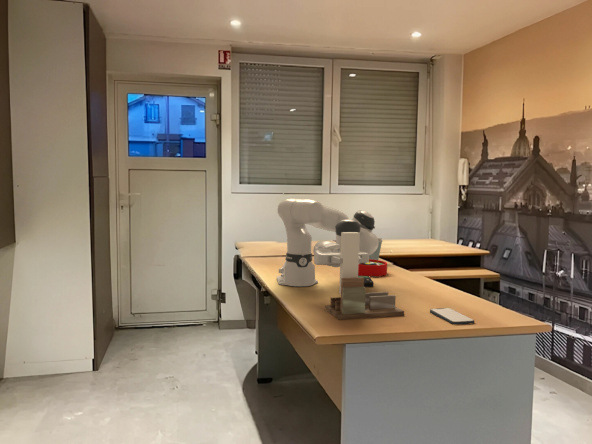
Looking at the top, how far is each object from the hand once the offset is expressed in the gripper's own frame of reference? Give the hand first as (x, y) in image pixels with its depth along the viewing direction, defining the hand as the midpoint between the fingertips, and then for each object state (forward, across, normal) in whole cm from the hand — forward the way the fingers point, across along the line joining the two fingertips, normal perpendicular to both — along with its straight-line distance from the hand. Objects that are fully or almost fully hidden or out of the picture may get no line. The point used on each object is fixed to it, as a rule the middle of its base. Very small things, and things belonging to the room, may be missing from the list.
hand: (350, 260), depth 167 cm
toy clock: (-70, -42, -19) cm, 84 cm away
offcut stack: (+4, 0, -18) cm, 18 cm away
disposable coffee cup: (-98, -60, -18) cm, 116 cm away
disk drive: (-46, -27, -19) cm, 57 cm away
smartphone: (+13, -34, -20) cm, 41 cm away
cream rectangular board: (-1, 0, -12) cm, 12 cm away
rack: (0, -6, -19) cm, 20 cm away
